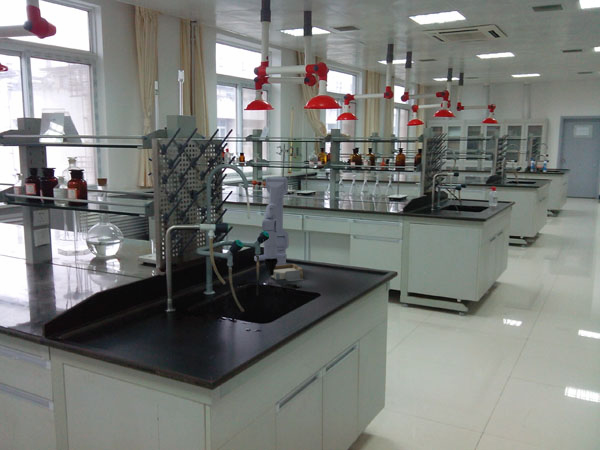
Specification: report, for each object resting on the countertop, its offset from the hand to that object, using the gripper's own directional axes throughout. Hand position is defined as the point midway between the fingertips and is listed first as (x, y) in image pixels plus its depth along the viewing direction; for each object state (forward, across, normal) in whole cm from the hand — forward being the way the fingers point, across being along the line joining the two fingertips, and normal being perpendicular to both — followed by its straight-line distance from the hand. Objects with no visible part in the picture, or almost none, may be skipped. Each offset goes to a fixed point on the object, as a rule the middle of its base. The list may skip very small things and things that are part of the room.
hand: (270, 275), depth 233 cm
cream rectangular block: (+2, +7, 0) cm, 7 cm away
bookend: (+1, +9, -7) cm, 11 cm away
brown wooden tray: (+1, +7, 0) cm, 7 cm away
